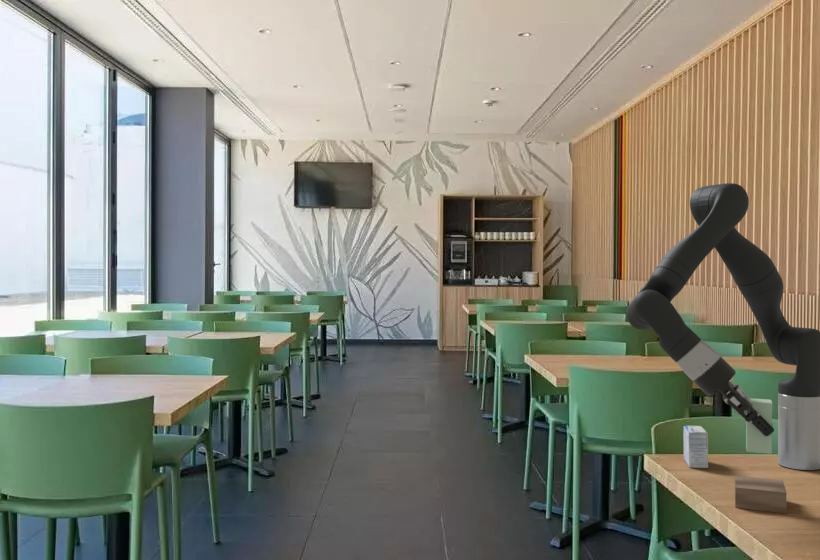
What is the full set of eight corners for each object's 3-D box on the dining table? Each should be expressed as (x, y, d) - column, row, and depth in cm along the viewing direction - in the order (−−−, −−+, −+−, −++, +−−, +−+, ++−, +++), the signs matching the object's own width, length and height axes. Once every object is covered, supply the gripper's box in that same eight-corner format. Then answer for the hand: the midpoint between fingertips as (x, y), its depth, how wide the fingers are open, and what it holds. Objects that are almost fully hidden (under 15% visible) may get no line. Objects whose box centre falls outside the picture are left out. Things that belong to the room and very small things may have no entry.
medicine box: (708, 469, 171) (708, 432, 171) (688, 468, 172) (688, 431, 172) (702, 460, 179) (702, 425, 179) (683, 459, 180) (683, 425, 180)
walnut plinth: (734, 494, 152) (734, 475, 152) (783, 499, 148) (783, 480, 148) (735, 507, 143) (735, 487, 143) (786, 513, 140) (786, 492, 140)
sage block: (746, 446, 149) (746, 398, 148) (770, 448, 147) (771, 399, 147) (746, 451, 144) (747, 401, 144) (771, 453, 143) (772, 403, 142)
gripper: (719, 359, 142) (787, 425, 137) (719, 351, 155) (782, 412, 150) (689, 384, 144) (756, 450, 139) (692, 374, 157) (754, 435, 152)
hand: (769, 430), depth 145 cm, fingers closed on sage block, 4 cm apart
